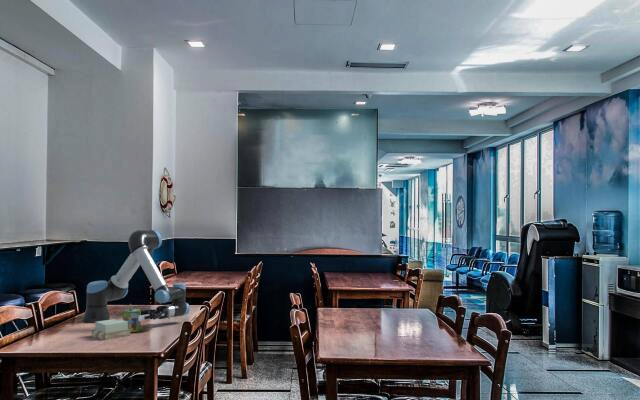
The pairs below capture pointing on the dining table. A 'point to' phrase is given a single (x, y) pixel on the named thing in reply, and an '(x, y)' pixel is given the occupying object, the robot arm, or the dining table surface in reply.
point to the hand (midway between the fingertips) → (131, 316)
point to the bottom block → (110, 334)
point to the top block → (111, 325)
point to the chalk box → (132, 319)
